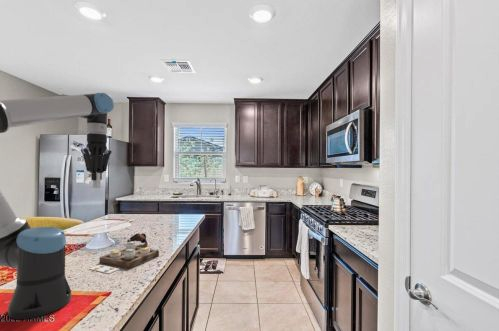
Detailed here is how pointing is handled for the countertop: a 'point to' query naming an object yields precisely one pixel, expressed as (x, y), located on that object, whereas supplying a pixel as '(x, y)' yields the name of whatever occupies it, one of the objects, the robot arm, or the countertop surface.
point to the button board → (132, 262)
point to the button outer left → (131, 245)
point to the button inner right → (129, 254)
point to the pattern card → (104, 269)
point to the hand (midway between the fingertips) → (96, 187)
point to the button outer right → (144, 251)
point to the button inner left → (115, 254)
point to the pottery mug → (139, 238)
